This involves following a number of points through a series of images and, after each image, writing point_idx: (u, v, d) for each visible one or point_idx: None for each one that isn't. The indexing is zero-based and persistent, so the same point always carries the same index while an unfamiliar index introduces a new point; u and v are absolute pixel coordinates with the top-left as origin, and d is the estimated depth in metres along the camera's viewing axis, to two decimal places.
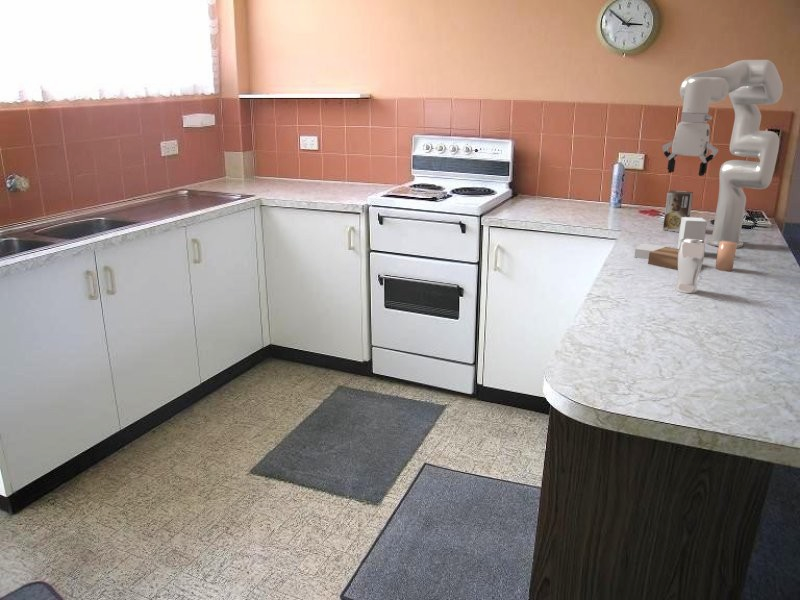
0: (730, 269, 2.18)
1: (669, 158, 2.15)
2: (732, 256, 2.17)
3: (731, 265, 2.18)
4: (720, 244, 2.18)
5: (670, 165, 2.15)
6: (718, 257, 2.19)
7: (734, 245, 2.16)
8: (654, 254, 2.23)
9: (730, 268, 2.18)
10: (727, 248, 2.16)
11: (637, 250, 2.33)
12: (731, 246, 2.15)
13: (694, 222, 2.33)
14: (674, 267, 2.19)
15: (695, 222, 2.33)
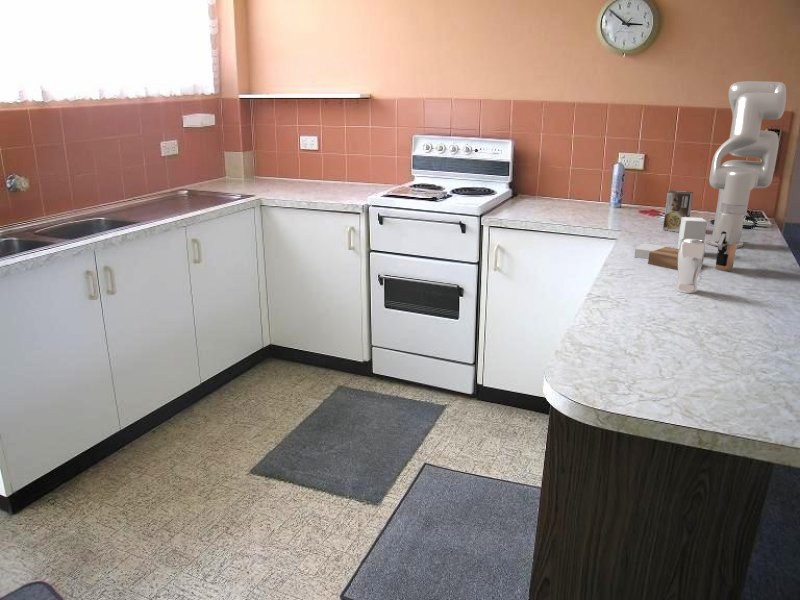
0: (730, 269, 2.18)
1: (726, 252, 2.15)
2: (732, 256, 2.17)
3: (731, 265, 2.18)
4: None
5: None
6: None
7: (734, 245, 2.16)
8: (654, 254, 2.23)
9: (730, 268, 2.18)
10: None
11: (637, 250, 2.33)
12: (731, 246, 2.15)
13: (694, 222, 2.33)
14: (674, 267, 2.19)
15: (695, 222, 2.33)
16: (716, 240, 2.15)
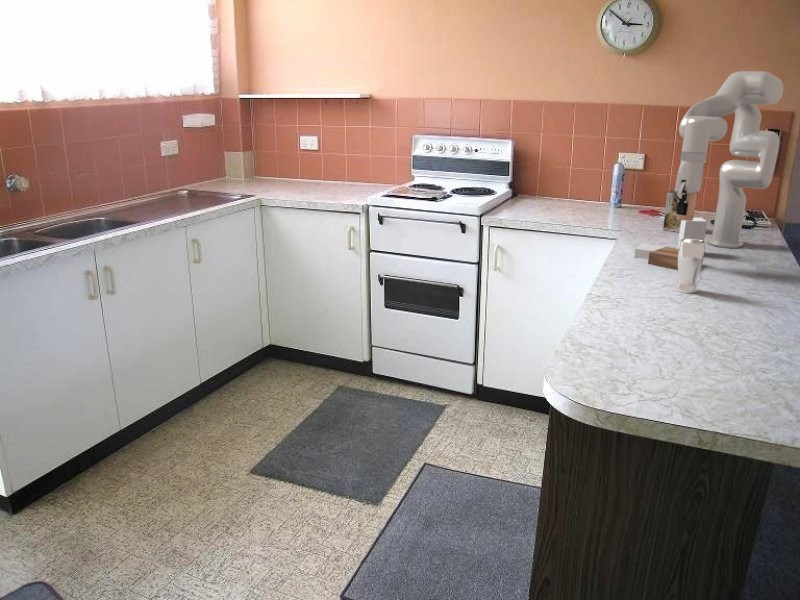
0: (690, 218, 2.18)
1: (686, 201, 2.15)
2: (692, 205, 2.16)
3: (691, 214, 2.17)
4: None
5: (687, 208, 2.16)
6: None
7: (694, 194, 2.15)
8: (654, 254, 2.23)
9: (690, 217, 2.17)
10: (688, 197, 2.15)
11: (637, 250, 2.33)
12: (691, 195, 2.15)
13: (694, 222, 2.33)
14: (674, 267, 2.19)
15: (695, 222, 2.33)
16: (676, 189, 2.15)
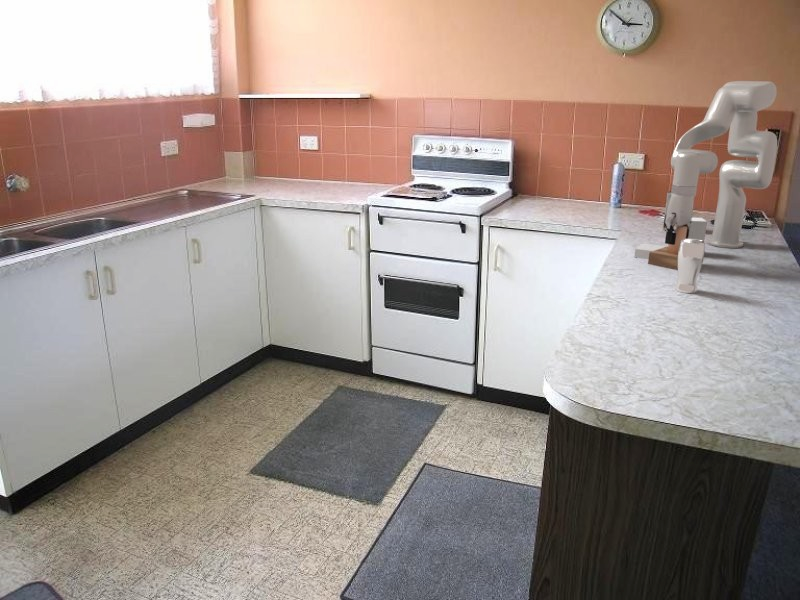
0: None
1: (674, 231, 2.17)
2: None
3: None
4: None
5: (675, 237, 2.18)
6: None
7: (684, 229, 2.19)
8: (654, 254, 2.23)
9: None
10: (678, 232, 2.20)
11: (637, 250, 2.33)
12: (681, 230, 2.19)
13: (694, 222, 2.33)
14: (674, 267, 2.19)
15: (695, 222, 2.33)
16: None
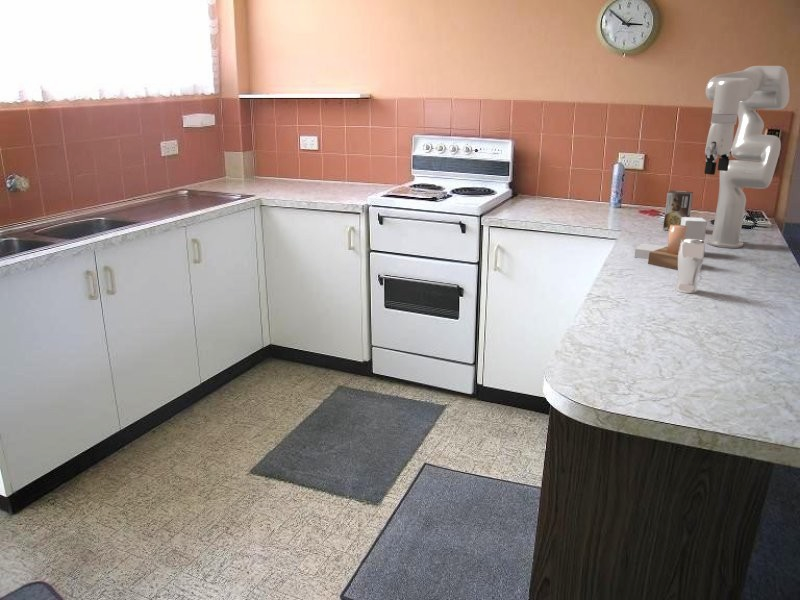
0: None
1: (714, 160, 2.16)
2: None
3: None
4: (670, 228, 2.21)
5: (715, 167, 2.17)
6: (669, 241, 2.23)
7: (684, 228, 2.19)
8: (654, 254, 2.23)
9: None
10: (677, 232, 2.20)
11: (637, 250, 2.33)
12: (681, 230, 2.19)
13: (694, 222, 2.33)
14: (674, 267, 2.19)
15: (695, 222, 2.33)
16: None
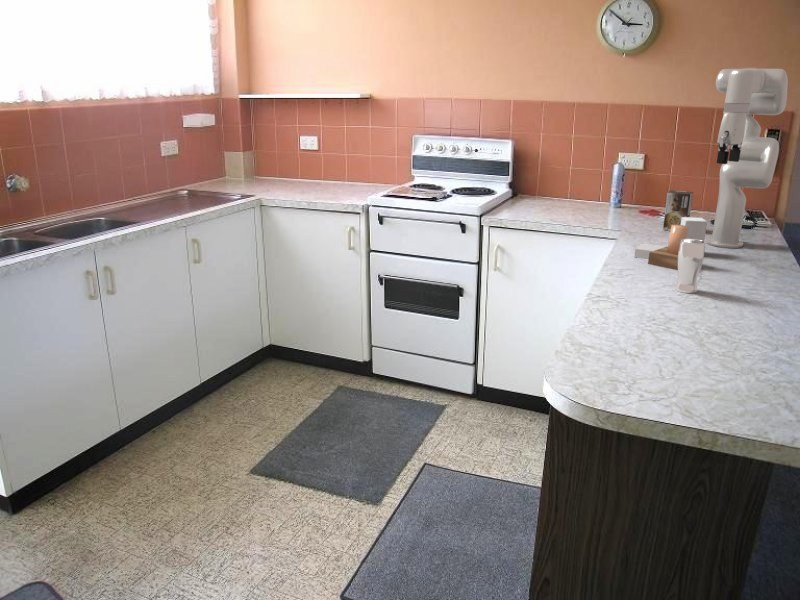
0: None
1: (727, 150, 2.16)
2: None
3: None
4: (672, 228, 2.21)
5: (727, 156, 2.17)
6: (670, 241, 2.23)
7: (685, 229, 2.19)
8: (654, 254, 2.23)
9: None
10: (679, 232, 2.19)
11: (637, 250, 2.33)
12: (682, 230, 2.19)
13: (694, 222, 2.33)
14: (674, 267, 2.19)
15: (695, 222, 2.33)
16: (719, 140, 2.18)
